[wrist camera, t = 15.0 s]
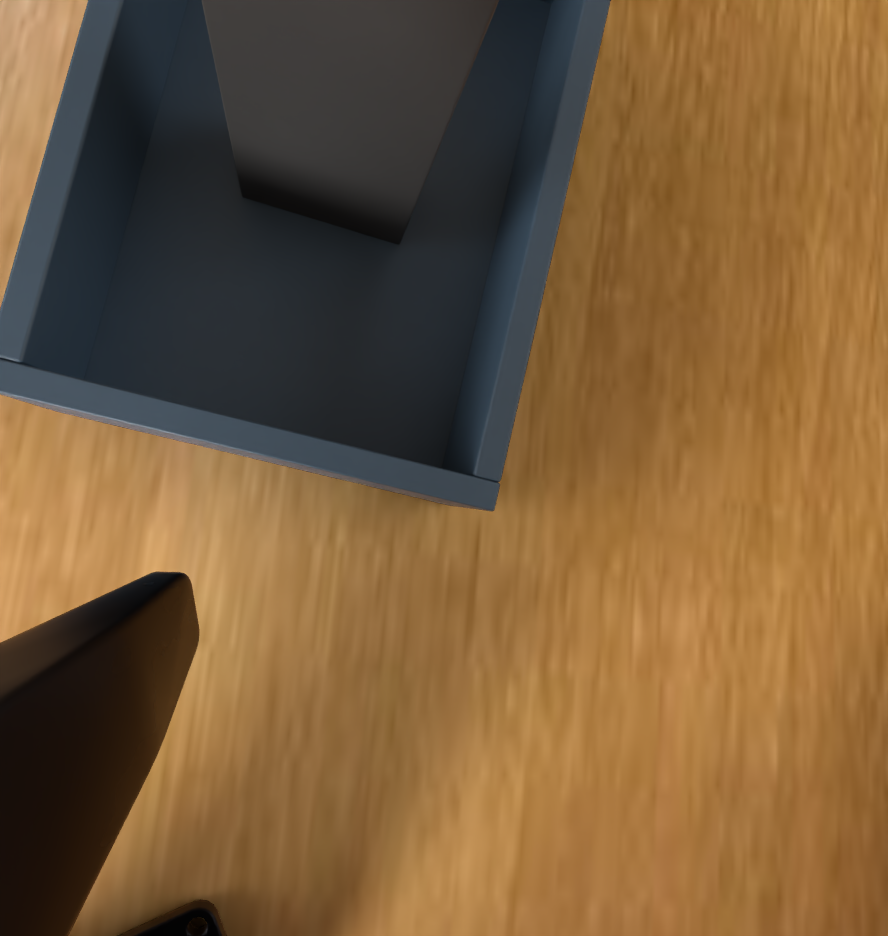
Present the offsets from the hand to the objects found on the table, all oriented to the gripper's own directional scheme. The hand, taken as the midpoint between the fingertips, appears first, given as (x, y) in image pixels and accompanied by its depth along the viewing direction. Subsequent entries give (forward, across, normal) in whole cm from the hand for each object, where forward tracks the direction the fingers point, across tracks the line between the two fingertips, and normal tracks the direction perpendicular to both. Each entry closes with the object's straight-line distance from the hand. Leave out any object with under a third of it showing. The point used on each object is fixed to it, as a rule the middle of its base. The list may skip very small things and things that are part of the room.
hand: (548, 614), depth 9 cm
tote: (+15, +6, -4) cm, 17 cm away
